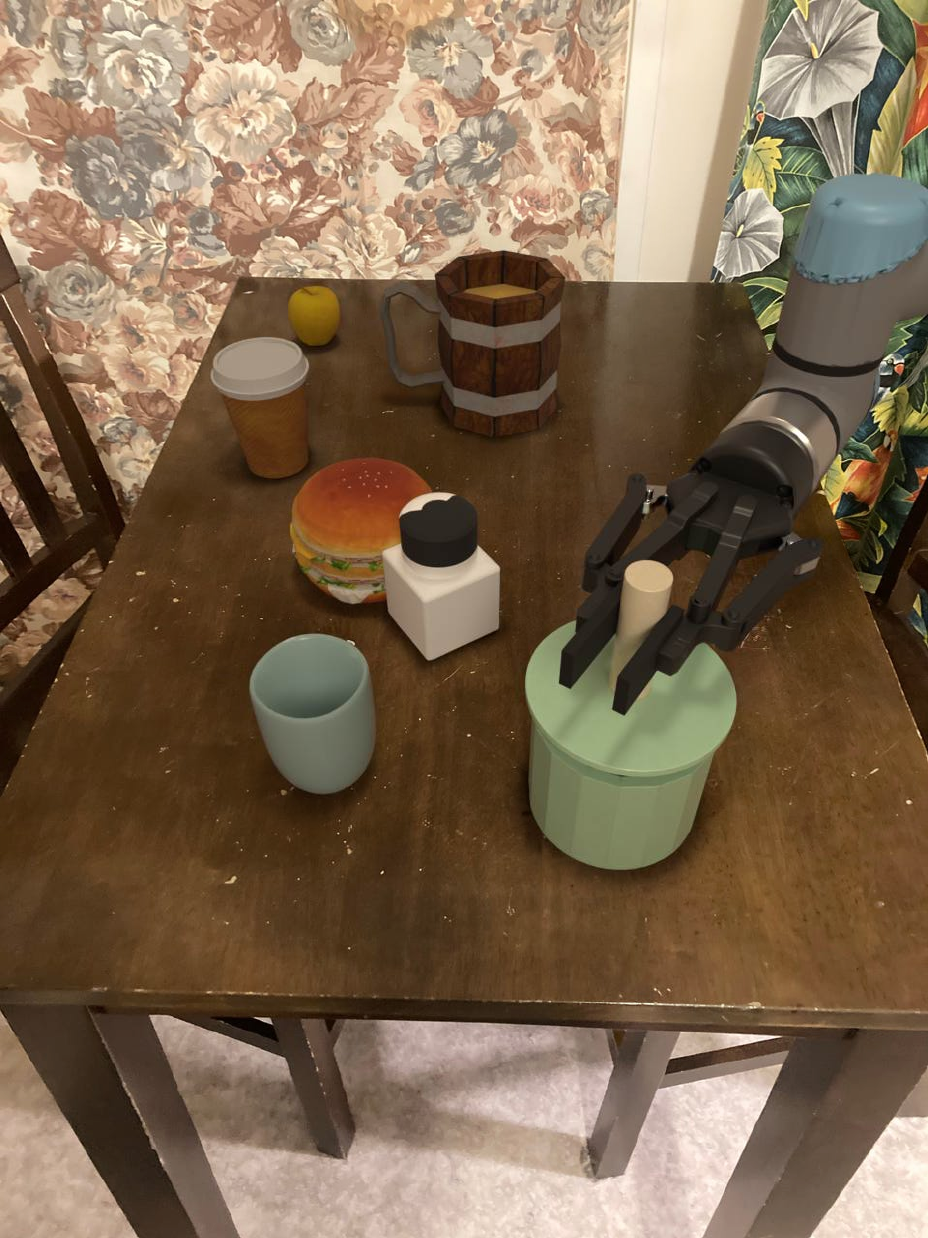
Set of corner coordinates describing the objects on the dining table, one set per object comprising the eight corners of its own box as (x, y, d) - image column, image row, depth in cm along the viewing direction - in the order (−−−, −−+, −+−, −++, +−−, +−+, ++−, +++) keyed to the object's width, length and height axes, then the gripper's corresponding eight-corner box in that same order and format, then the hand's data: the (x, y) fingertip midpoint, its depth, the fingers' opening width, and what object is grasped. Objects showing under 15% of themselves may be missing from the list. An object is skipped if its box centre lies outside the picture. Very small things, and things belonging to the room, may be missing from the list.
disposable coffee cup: (341, 459, 92) (327, 355, 84) (270, 499, 87) (246, 393, 79) (286, 427, 97) (267, 325, 89) (215, 463, 92) (188, 359, 84)
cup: (341, 828, 60) (321, 738, 53) (253, 783, 63) (223, 692, 56) (401, 748, 65) (390, 656, 58) (317, 710, 67) (297, 618, 60)
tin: (708, 758, 63) (734, 671, 57) (674, 894, 56) (699, 812, 49) (557, 713, 67) (565, 626, 60) (505, 836, 59) (507, 752, 52)
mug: (558, 377, 104) (566, 251, 93) (556, 439, 94) (564, 306, 84) (396, 372, 105) (386, 247, 95) (378, 433, 96) (364, 301, 85)
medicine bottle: (500, 630, 73) (503, 517, 65) (428, 663, 71) (420, 551, 62) (456, 582, 78) (453, 471, 69) (386, 612, 75) (374, 501, 67)
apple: (285, 352, 110) (274, 290, 104) (306, 329, 114) (297, 269, 108) (332, 358, 108) (323, 296, 103) (351, 335, 112) (344, 274, 107)
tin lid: (748, 654, 56) (786, 531, 49) (711, 812, 48) (750, 692, 41) (560, 605, 60) (570, 484, 53) (494, 744, 51) (496, 623, 44)
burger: (429, 624, 74) (423, 532, 67) (276, 610, 76) (255, 519, 69) (453, 527, 83) (450, 437, 76) (317, 516, 85) (302, 428, 78)
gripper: (858, 553, 59) (718, 793, 45) (649, 478, 65) (472, 668, 52) (895, 460, 54) (748, 701, 40) (664, 389, 60) (471, 575, 47)
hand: (593, 682), depth 46 cm, fingers closed on tin lid, 3 cm apart
